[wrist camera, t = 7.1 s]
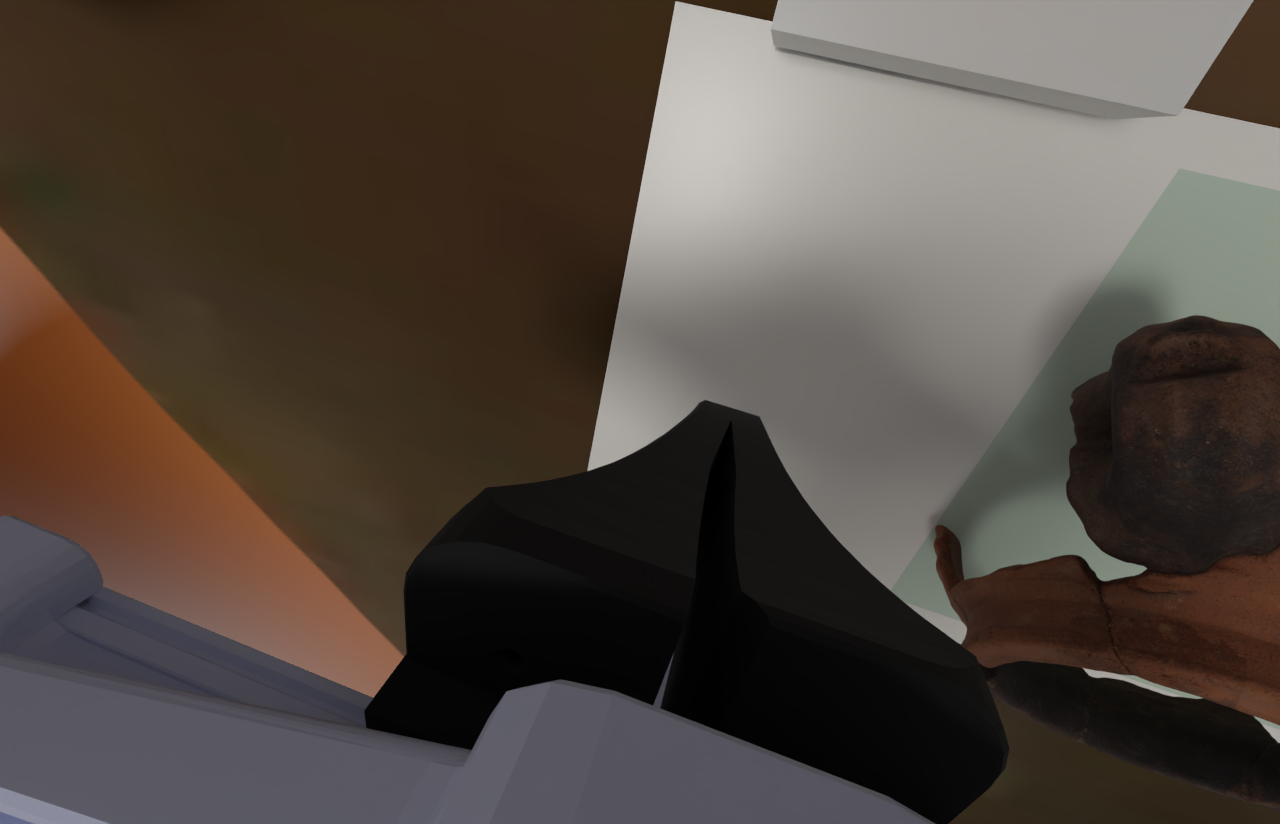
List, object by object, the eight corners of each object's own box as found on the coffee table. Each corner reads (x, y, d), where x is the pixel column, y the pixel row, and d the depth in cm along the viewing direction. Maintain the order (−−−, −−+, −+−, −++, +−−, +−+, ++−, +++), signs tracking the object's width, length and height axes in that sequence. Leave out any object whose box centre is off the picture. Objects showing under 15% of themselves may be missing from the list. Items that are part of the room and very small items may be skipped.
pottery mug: (1429, 533, 13) (1549, 923, 9) (997, 507, 20) (965, 723, 16) (1528, 103, 8) (1932, 641, 4) (883, 275, 15) (794, 521, 11)
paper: (1307, 756, 17) (1315, 766, 17) (582, 507, 20) (579, 511, 20) (2105, 305, 9) (2144, 310, 9) (677, 3, 12) (676, 1, 12)
